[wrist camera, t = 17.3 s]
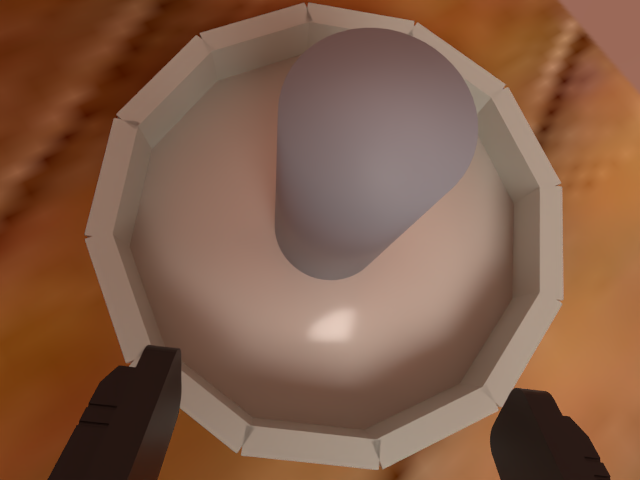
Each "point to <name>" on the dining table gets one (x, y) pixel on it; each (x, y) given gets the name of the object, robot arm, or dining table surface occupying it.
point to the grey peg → (365, 146)
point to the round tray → (308, 292)
